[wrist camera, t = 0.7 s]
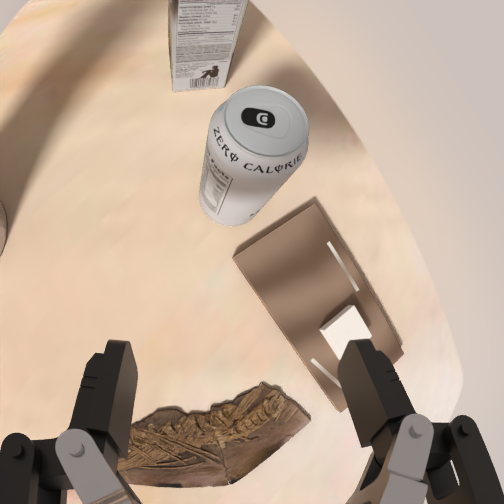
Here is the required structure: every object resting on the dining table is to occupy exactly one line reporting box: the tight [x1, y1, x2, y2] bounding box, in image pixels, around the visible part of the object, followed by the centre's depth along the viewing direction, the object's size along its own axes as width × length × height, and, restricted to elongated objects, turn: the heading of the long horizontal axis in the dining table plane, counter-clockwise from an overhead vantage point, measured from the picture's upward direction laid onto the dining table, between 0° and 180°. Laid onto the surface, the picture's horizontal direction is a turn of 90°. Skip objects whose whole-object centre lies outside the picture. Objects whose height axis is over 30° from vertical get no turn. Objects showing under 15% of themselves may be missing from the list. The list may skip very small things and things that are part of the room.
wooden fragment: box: [117, 383, 311, 488], centre depth 26 cm, size 26×11×1 cm, turn 105°
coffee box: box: [168, 0, 249, 92], centre depth 24 cm, size 9×6×16 cm
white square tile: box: [319, 305, 372, 360], centre depth 29 cm, size 4×4×1 cm
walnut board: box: [233, 204, 404, 413], centre depth 30 cm, size 20×10×1 cm, turn 34°
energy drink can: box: [199, 85, 309, 227], centre depth 23 cm, size 6×6×15 cm
